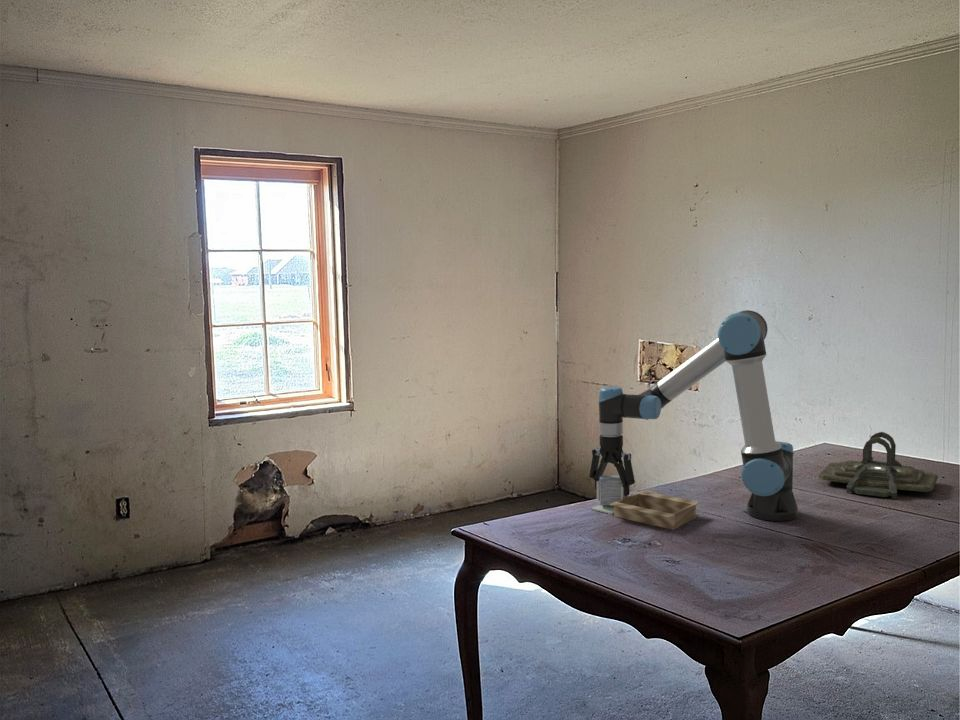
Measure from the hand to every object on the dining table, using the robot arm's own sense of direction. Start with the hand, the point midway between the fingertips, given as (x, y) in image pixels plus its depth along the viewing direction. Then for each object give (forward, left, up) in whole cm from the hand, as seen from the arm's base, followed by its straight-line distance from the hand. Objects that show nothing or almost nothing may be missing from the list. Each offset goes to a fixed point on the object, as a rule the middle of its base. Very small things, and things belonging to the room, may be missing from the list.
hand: (612, 502), depth 267 cm
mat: (0, 0, -2) cm, 2 cm away
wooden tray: (-16, 0, -2) cm, 16 cm away
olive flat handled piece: (-57, -77, -2) cm, 96 cm away
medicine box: (0, 0, -1) cm, 1 cm away
